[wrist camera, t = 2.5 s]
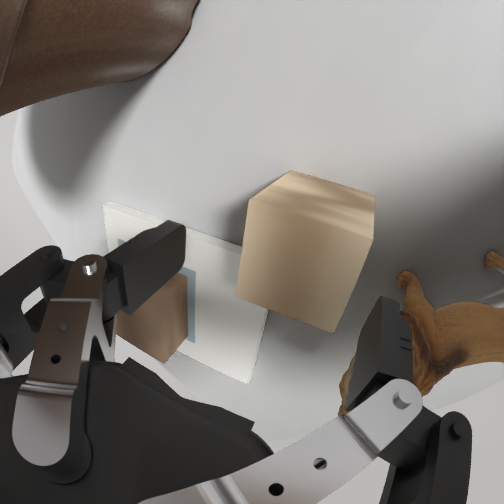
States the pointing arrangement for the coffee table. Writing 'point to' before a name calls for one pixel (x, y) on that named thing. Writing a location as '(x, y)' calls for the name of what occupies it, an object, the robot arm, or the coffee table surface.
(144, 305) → the walnut plinth
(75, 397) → the robot arm
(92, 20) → the plant pot
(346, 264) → the oak block
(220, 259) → the board
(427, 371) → the lion figurine
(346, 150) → the coffee table surface
